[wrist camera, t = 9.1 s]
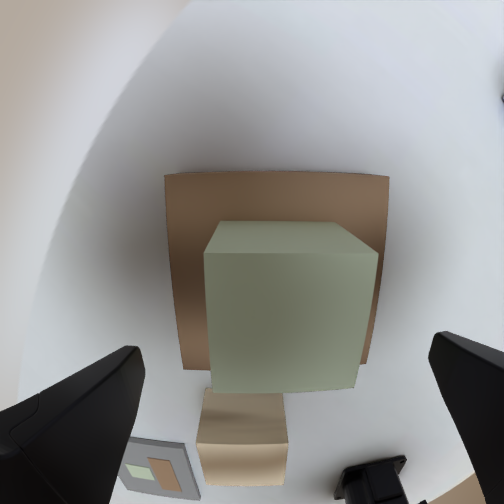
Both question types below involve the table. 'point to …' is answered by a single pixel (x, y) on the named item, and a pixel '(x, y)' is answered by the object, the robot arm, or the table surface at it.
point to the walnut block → (260, 209)
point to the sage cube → (286, 306)
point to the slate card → (158, 469)
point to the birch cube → (242, 439)
